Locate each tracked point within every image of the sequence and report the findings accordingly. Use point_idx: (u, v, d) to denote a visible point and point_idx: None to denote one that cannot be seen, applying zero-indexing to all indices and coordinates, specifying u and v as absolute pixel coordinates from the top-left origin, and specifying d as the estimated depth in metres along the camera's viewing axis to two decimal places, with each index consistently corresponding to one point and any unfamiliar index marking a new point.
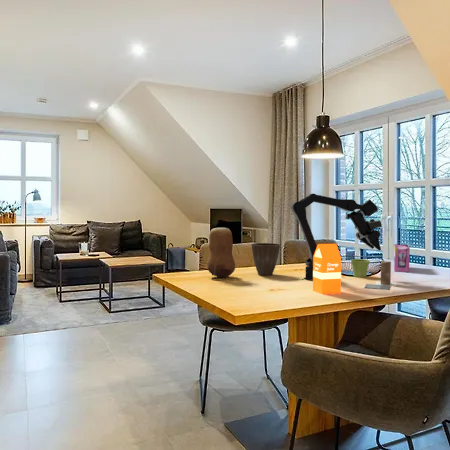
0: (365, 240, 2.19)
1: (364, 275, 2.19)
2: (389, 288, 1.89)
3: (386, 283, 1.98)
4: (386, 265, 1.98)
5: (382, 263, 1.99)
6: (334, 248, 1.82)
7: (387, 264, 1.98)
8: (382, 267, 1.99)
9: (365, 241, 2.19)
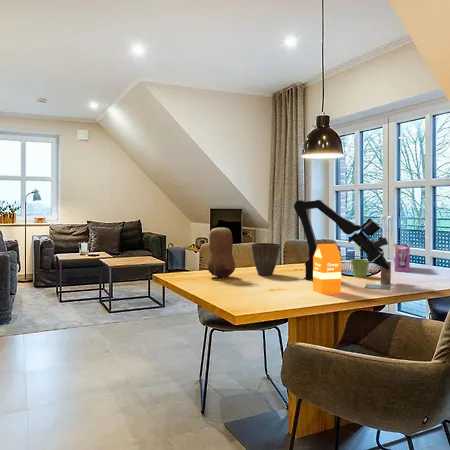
0: None
1: (364, 275, 2.19)
2: (389, 288, 1.89)
3: (386, 283, 1.98)
4: None
5: None
6: (334, 248, 1.82)
7: (387, 264, 1.98)
8: (382, 267, 1.99)
9: None
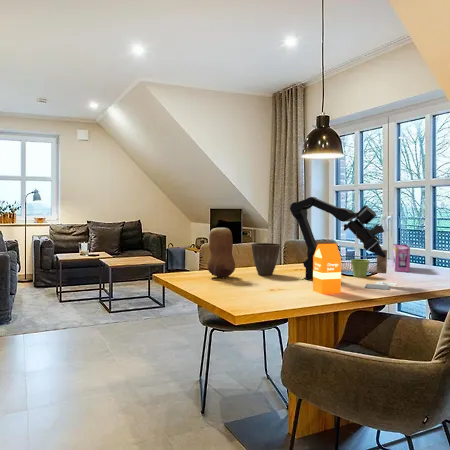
0: None
1: (364, 275, 2.19)
2: (389, 288, 1.89)
3: (382, 272, 1.94)
4: None
5: None
6: (334, 248, 1.82)
7: (383, 252, 1.93)
8: (378, 255, 1.94)
9: None
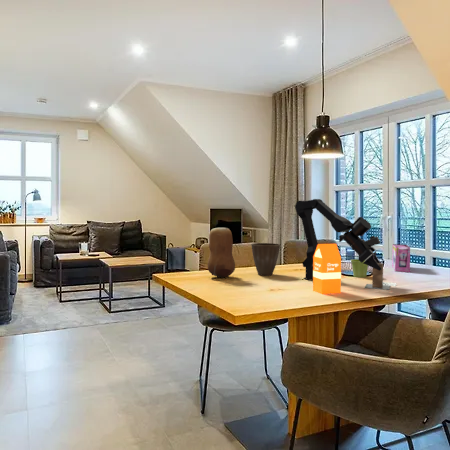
0: None
1: (364, 275, 2.19)
2: (389, 288, 1.89)
3: (378, 286, 1.90)
4: None
5: None
6: (334, 248, 1.82)
7: None
8: (374, 269, 1.90)
9: None
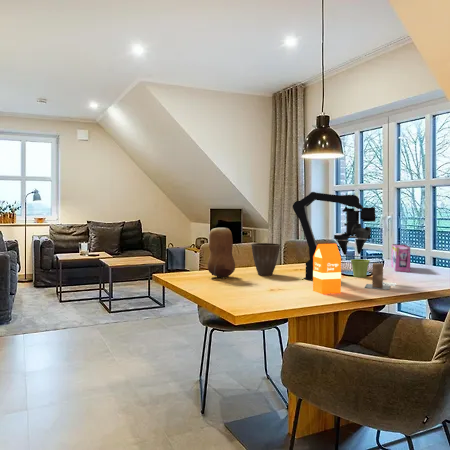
0: (358, 242, 2.11)
1: (364, 275, 2.19)
2: (389, 288, 1.89)
3: (378, 286, 1.90)
4: (378, 266, 1.90)
5: (374, 265, 1.90)
6: (334, 248, 1.82)
7: (379, 266, 1.90)
8: (374, 269, 1.90)
9: (357, 243, 2.11)
